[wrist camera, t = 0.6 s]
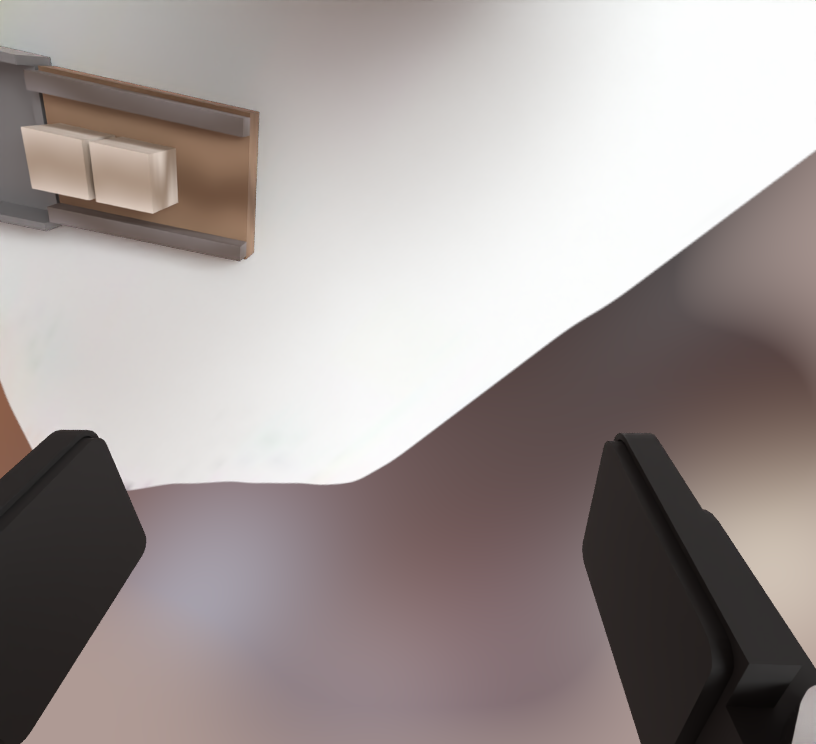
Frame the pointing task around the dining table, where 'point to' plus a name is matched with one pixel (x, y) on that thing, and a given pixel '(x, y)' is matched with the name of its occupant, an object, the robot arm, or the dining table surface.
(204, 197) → the groove board
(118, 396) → the dining table surface
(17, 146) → the tray
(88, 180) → the chip
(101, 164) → the chip
